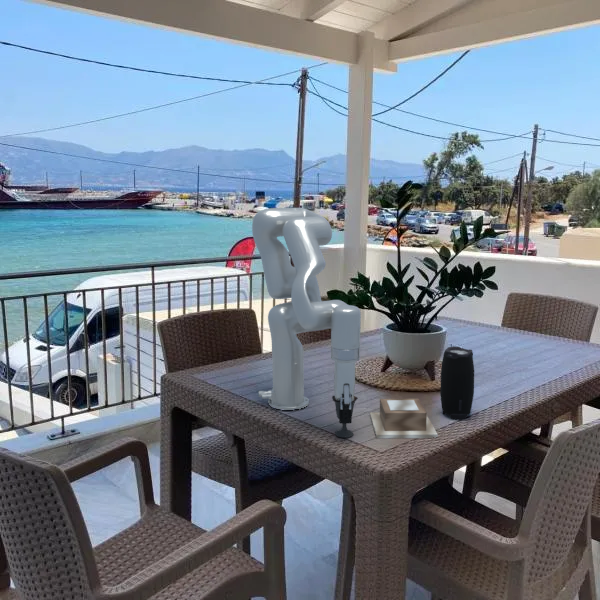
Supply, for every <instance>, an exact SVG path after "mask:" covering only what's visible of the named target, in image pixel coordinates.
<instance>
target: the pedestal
mask: <svg viewBox="0 0 600 600" xmlns="http://www.w3.org/2000/svg"><path fill="white" fill-rule="evenodd" d="M427 413H428V412H427V411H426V409H425V408H424V405H423V403H422V402H421V400H420V399H419V398H379V412H377V411H376V412H373V411H372V412H369V416H370V420H371V423H372V427H373V430H374V434H376V435H375V438H376V439H437V438H436V437H438V433H437V431H436V429H435V427H434V425H433V424H432V421H431V420H430V418H429V416H428V415H427ZM433 437H434V438H433ZM438 438H439V437H438Z"/></svg>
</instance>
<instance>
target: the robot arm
mask: <svg viewBox="0 0 600 600" xmlns="http://www.w3.org/2000/svg"><path fill="white" fill-rule="evenodd" d="M251 232H252V238H253V240H254V244H255V246H256V248H257V250H258V253H259V255H260V259H261V265H262V270H263V274H264V281H265V284H266V289H267V292H268V295H269V297H271V298H272V299H275V300H285V299H290V300H291V301H290V302H283V303H282V302H281V303H278V304H276V305H274V306H273V307H271V308H270V310H269V312H268V313H267V314H268V315H267V323H268V326H269V331H270V338H271V355H272V356H271V357H272V358H271V360H272V361H271V362H272V364H271V365H272V366H271V367H272V368H271V369H272V388H271V389H268V390H258V397H259V398H261V399H262V400H268V401H267V404H268V403H269V405H271V406H272V407H275V408H278V409H284V410H293V409H299V410H302V409H301V408H303V409H304V407H305V408H306V406H307V407H308V406H309V405H310V399H309V398H308V397H307V396H305V387H304V385H305V376H304V375H305V374H304V372H305V371H304V369H305V367H304V364H305V363H304V362H305V361H304V346H303V344H302V343H301V342H302V341H300V339H299V337H298V336H297V334H301V333H306V332H308V333H309V332H317V331H323V330H329V329H330V331H331V332H330V353H331V354H330V359H331V360H332V361H334V365H333V366H334V368H333V369H334V370H333V371H334V372H333V374H334V375H333V393H334V396H335V398H336V399H338V398H340V408H339V419H338V420H339V421H338V422H339V424H341V425H342V424H346V425H347V424H352V423H353V422H352V420H353V419H352V417H353V414H352V408H351V399H352V398H354V396H355V388H356V387H355V385H356V362H358V361H360V360H361V321H362V320H361V318H362V316H361V315H362V314H361V313H362V312H361V310H360V308H359V307H358V306H356V305H351V304H350V305H349V304H347V302H344V301H342V300H341V299H332V300H330V299H329V300H322V298H321V291H320V285H319V281H318V277H317V275H319V274H320V273H322V271H323V270H324V269H326V265H327V264H326V260H325V257H324V254H323V252H322V249H321V247H322V246H326V245H328V244H329V243H330V242H331V240H332V236H333V230H332V226H331V224H330V222H329V221H328V220H327V218H325V217H324V216H323V215H320V214H318V213H316V212H314V211H312V210H310V209H307V208H304V207H276V208H275V207H274V208H273V207H272V208H271V207H270V208H265V209H262V210H259V211H258V212H257V213H255V214H254V216H253V219H252V225H251ZM278 237H283V239H284V241H285V244H286V246H287V248H286V247H285V245H284V244H283V242H282V241H280V240H279V239H278ZM320 246H321V247H320ZM290 257H291V258H290ZM290 259H291V260H290ZM291 261H292V263H293V265H292V264H291ZM342 395H344V397H342ZM343 400H344V402H343ZM269 405H268V406H269ZM293 411H294V410H293Z"/></svg>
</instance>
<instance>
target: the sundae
mask: <svg viewBox="0 0 600 600" xmlns="http://www.w3.org/2000/svg"><path fill="white" fill-rule="evenodd" d="M342 397H344V395H342ZM331 399H332V400H333V402H334V406H335V413H336V417H337V419H338V420H339V408H340V398H338V399H336V398H335V395H332V397H331ZM357 400H358V397H357V396H355V395H354V398H352V399H351V408H352V415H353V413H354V407H355V405H356V404H355V403H356V402H357ZM343 402H344V400H343ZM334 435H335V436H337V437H338V438H344V439H345V438H350V437H352V436H354V432H353V431H352V430H350V429H348V428H347V424H341V429H338V430H337V429H336V431H335V432H334Z"/></svg>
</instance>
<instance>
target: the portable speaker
mask: <svg viewBox="0 0 600 600" xmlns="http://www.w3.org/2000/svg"><path fill="white" fill-rule="evenodd" d="M473 357H474V352H473V350H472V349H466V348H463V347H460V346H454V345H453V346H450V347H447V348H446V349H445V350H444V353H443V357H442V362H441V365H440V366H441V367H440V368H441V369H440V403H441V404H440V405H441V410H442V415H443V416H445V415H447V416H449V418H450V419H452V420H454V419H455V421H457V419H459V420H458V421H462V419H463V420H466V418H467V417H468V416H469V415H471V412H472V408H473V401H474V396H475V365H474V358H473Z"/></svg>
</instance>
